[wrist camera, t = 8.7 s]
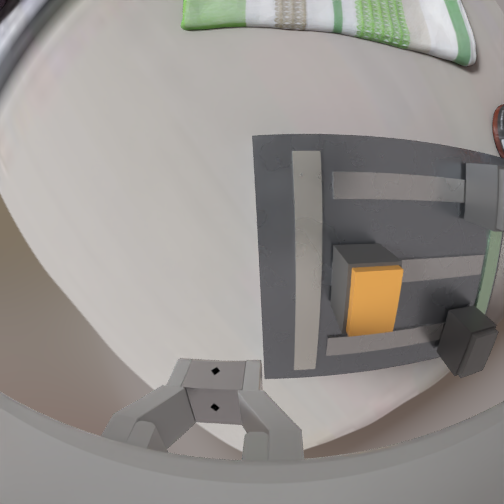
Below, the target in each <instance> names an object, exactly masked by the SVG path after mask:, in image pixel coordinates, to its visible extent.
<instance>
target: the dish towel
mask: <svg viewBox="0 0 504 504" xmlns="http://www.w3.org/2000/svg"><path fill="white" fill-rule="evenodd" d="M222 27H272V28H280V29H292V30H311V31H321V32H334V33H341V34H344V35H349V36H353V37H358V38H362V39H367V40H371V41H375V42H380V43H383V44H388V45H391V46H394V47H398V48H401V49H409V50H413V51H418V52H422V53H426V54H429V55H432V56H435V57H439V58H442V59H446V60H450V61H453V62H455V63H457V64H460V65H463V66H469V65H470V66H471V65H473V64H474V63H475V61H476V43H475V40H474V35H473V31H472V29H471V26H470V23H469V20H468V17H467V14H466V12H465V10H464V7H463V5H462V2H461V0H183V20H182V23H181V28H182V29H184V30H196V29H213V28H222Z"/></svg>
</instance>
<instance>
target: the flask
mask: <svg viewBox="0 0 504 504" xmlns="http://www.w3.org/2000/svg"><path fill="white" fill-rule="evenodd" d="M6 1H7V0H0V10H1V9H2V7H3V6H4V4H5V2H6Z"/></svg>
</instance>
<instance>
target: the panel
mask: <svg viewBox="0 0 504 504" xmlns="http://www.w3.org/2000/svg"><path fill="white" fill-rule="evenodd" d="M252 140H253V157H254V174H255V192H256V210H257V229H258V248H259V267H260V287H261V308H262V329H263V351H264V374H265V379H277V378H300V377H315V376H327V375H337V374H347V373H355V372H363V371H370V370H376V369H383V368H389V367H394V366H400V365H405V364H410V363H415V362H420V361H424V360H429V359H433V358H437V357H440V356H439V354H438V353H437V349H438V346H439V342H440V339H441V336H442V333H443V329H444V326H445V323H446V319H447V315H448V311H449V310H452V309H458V308H463V307H468V306H473V305H474V306H475V307H476V308H478V309H479V310H480V311H481V312H482V313H483V314H485V315H486V312H487V309H488V305H489V301H490V298H491V294H492V290H493V286H494V282H495V277H496V273H497V268H498V262H499V257H500V251H501V245H502V238H503V232H494V231H491V230H489V229H486V228H484V227H481V226H479V225H476V224H473V223H471V222H468V221H465V220H464V214H465V197H466V163H475V164H488V165H498V166H502V167H504V158H501V157H497V156H493V155H489V154H485V153H480V152H476V151H471V150H467V149H462V148H457V147H451V146H446V145H440V144H433V143H427V142H420V141H412V140H404V139H395V138H384V137H372V136H357V135H334V134H280V135H257V136H252ZM374 243H379V244H381V245H382V246H383V247H385V248H386V249H387V250H389V251H390V252H391V253H392V254H394V255H395V256H396V257H398V258H399V259H400V260H401V261H402V268H403V277H402V284H401V290H400V296H399V302H398V308H397V313H396V318H395V323H394V328H393V332H386V333H378V334H370V335H361V336H351V337H348V334H342V333H341V330H340V328H339V325H338V323H337V320H336V318H335V315H334V313H333V310H332V308H331V305H330V303H331V287H332V267H333V245H344V244H374Z"/></svg>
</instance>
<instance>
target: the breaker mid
mask: <svg viewBox="0 0 504 504" xmlns="http://www.w3.org/2000/svg"><path fill="white" fill-rule="evenodd" d="M402 277H403V268H402V261H401V260H400V259H399V258H398V257H396V256H395V255H394V254H392V253H391V252H390V251H389V250H387V249H386V248H385V247H383V246H382V245H381V244H379V243H374V244H344V245H333V267H332V287H331V303H330V305H331V308H332V310H333V313H334V315H335V318H336V320H337V323H338V325H339V328H340V330H341V333H342V334H348V337H351V336H361V335H370V334H378V333H386V332H393V328H394V323H395V318H396V313H397V308H398V302H399V296H400V290H401V284H402Z"/></svg>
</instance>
